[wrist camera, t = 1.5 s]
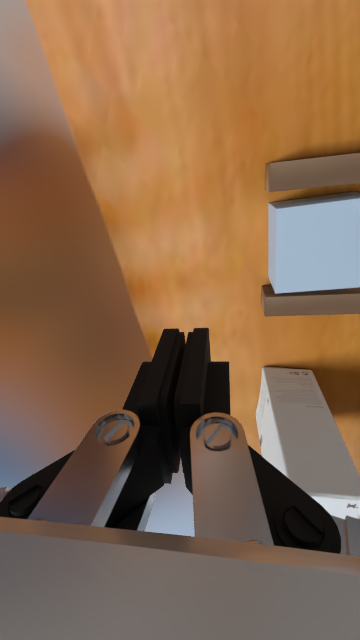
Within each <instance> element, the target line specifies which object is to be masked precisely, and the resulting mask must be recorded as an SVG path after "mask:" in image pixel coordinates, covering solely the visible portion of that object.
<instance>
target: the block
mask: <svg viewBox="0 0 360 640" xmlns="http://www.w3.org/2000/svg"><path fill="white" fill-rule="evenodd" d="M269 280H270V282H271V284H272V287H273V289H274V292H275V294H277V293H290V292H304V291H317V290H331V289H344V288H358V287H360V193H359V192H347V193H340V194H332V195H325V196H317V197H310V198H302V199H295V200H287V201H280V202H272V203H269Z"/></svg>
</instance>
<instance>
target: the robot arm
mask: <svg viewBox="0 0 360 640" xmlns="http://www.w3.org/2000/svg"><path fill="white" fill-rule="evenodd" d="M180 458H181V460H182V467H183V473H184V477H185V484H186V487H187V489H188V490H189V491H190V492H191V494H192V495H193V506H194V507H193V509H194V529H195V537H191V536H182V535H172V534H163V533H153V532H144V530H145V527H146V525H147V522H148V518H149V516H150V513H151V510H152V507H153V505H154V502H155V497H156V491H157V490H158V489H160V488H161V487H162V486H163V485H164V483H169V484H170V483H171V479H172V473H178V471H179V464H180ZM0 640H360V519H357V518H354V517H350V516H347V515H346V517H345V519H342V518H339V517H335V516H332V515H330V514H329V513H328V512H327V511H326V510H325V508H324V507H323V506H322V505H320V504H319V503H318V502H317V501H316V500H314V499H313V498H312V497H311V496H310V495H308V494H307V493H306V492H305V491H303V490H302V489H301V488H300V487H299V486H297V485H296V484H295V483H294V482H292V481H291V480H290V479H289V478H288V477H286V476H285V475H284V474H283V473H282V472H280V471H279V470H278V469H277V468H275V467H274V466H273V465H272V464H271V463H269V462H268V461H267V460H266V459H264V458H263V457H262V456H261V455H260V454H258V453H257V452H256V451H255V450H254V449H252V448H251V447H250V446H249V445H248V444H247V440H246V436H245V432H244V429H243V427H242V425H241V424H240V422H239V421H238V420H237V419H236V418H234V417H232V416H230V383H229V362H211V357H210V342H209V329H208V328H194V330H193V332H189V333H188V337H187V341H186V344H185V335H184V332H179V329H164V330H163V333H162V335H161V338H160V341H159V343H158V346H157V349H156V351H155V354H154V356H153V359H152V362H143V363H142V365H141V367H140V369H139V371H138V374H137V376H136V379H135V381H134V383H133V386H132V388H131V390H130V393H129V395H128V397H127V400H126V402H125V404H124V407H123V409H122V410H115V411H111V412H109V413H106V414H104V415H103V416H101V417H100V418H99V419H97V420H96V422H95V423H94V424H93V425H92V426H91V428H90V429H89V431H88V432H87V434H86V435H85V437H84V438H83V439H82V441H81V442H80V444H79V445H78V447H77V448H76V450H74V451H72V452H71V453H69V454H67V455H66V456H64V457H62V458H61V459H59V460H57V461H55V462H54V463H52V464H50V465H49V466H47V467H45V468H44V469H42V470H40V471H39V472H37V473H35V474H33V475H32V476H30V477H28V478H27V479H25V480H23V481H22V482H21V483H19V484H17V485H16V486H15V487H14V488H12V489H11V490H9V489H8V488H7V487H2V488H0Z"/></svg>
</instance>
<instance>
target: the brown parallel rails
mask: <svg viewBox="0 0 360 640" xmlns="http://www.w3.org/2000/svg"><path fill="white" fill-rule="evenodd" d="M355 183H360V153H353V154H344V155H336V156H327V157H318V158H310V159H301V160H293V161H284V162H275V163H267V164H266V175H265V190H267V191H269V192H275V191H285V190H295V189H305V188H315V187H325V186H335V185H345V184H355ZM261 305H262V308H263V312H264V315H265V316H296V315H332V314H360V287H358V288H344V289H331V290H317V291H304V292H290V293H277V294H275V292H274V289H273V287H272V285H265V286H262V294H261Z"/></svg>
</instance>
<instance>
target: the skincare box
mask: <svg viewBox="0 0 360 640" xmlns="http://www.w3.org/2000/svg"><path fill="white" fill-rule="evenodd" d="M256 420H257V427H258V433H259V439H260V446H261V452H262V457H263V458H264V459H266V460H267V461H268V462H269V463H271V464H272V465H273V466H274V467H275V468H277V469H278V470H279V471H280V472H282V473H283V474H284V475H285V476H286V477H288V478H289V479H290V480H291V481H292V482H294V483H295V484H296V485H297V486H299V487H300V488H301V489H302V490H303V491H305V492H306V493H307V494H308V495H310V496H311V497H312V498H313V499H314V500H316V501H317V502H318V503H319V504H320V505H322V506H323V507H324V508H325V510H326V511H327V512H328V513H329V514H330V515H332V516H335V517H339V518H342V519H345V517H346V515H347V516H350V517H354V518H357V519H358V518H359V516H360V476H359V474H358V472H357V469H356V467H355V465H354V463H353V461H352V458H351V456H350V454H349V452H348V449H347V447H346V445H345V443H344V440H343V438H342V436H341V434H340V432H339V429H338V427H337V425H336V423H335V420H334V418H333V416H332V414H331V411H330V409H329V407H328V405H327V403H326V400H325V398H324V396H323V394H322V391H321V389H320V387H319V385H318V383H317V380H316V378H315V376H314V374H313V371H312V370H306V369H288V368H276V367H263V368H262V380H261V389H260V395H259V401H258V406H257V409H256Z"/></svg>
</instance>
